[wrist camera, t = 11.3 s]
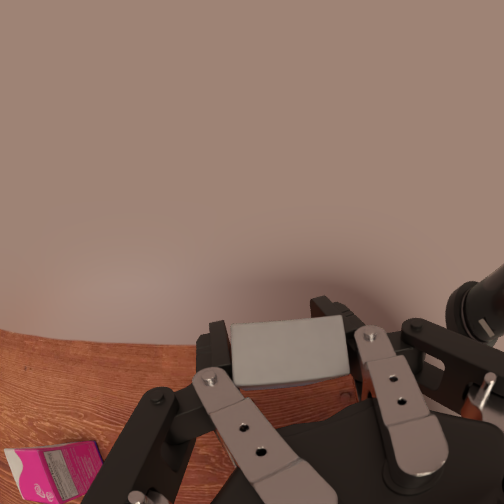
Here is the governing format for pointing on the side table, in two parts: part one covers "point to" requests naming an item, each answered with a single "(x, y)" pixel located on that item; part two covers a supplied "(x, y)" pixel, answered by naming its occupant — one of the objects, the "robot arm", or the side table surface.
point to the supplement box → (54, 470)
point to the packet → (288, 352)
